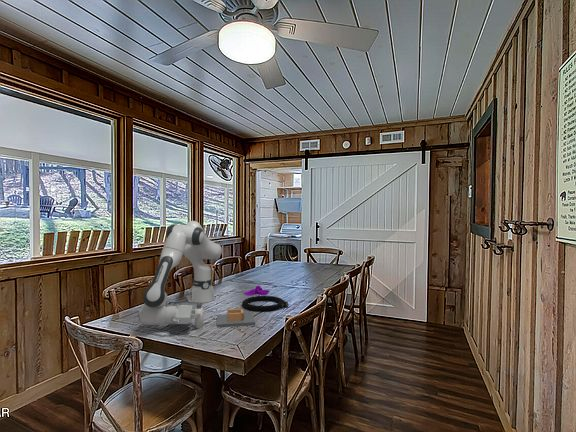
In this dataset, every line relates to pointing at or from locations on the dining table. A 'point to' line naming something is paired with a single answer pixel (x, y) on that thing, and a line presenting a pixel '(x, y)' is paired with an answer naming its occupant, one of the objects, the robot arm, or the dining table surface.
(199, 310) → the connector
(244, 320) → the holder
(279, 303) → the cable lock
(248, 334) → the dining table surface
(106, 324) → the dining table surface
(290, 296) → the dining table surface
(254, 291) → the cloth
